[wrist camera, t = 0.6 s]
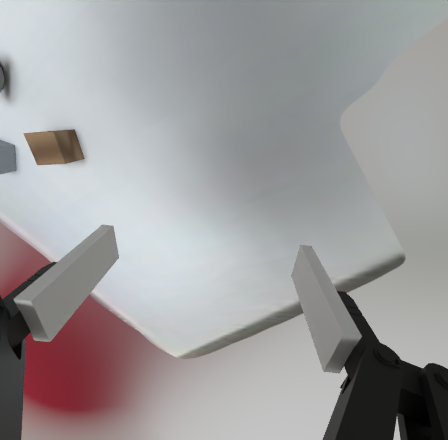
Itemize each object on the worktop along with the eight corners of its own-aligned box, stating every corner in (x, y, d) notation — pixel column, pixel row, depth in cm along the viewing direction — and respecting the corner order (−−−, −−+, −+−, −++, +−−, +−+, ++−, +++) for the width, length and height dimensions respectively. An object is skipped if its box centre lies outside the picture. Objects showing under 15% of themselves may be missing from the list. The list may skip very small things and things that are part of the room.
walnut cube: (48, 131, 38) (23, 133, 34) (74, 129, 38) (53, 131, 33) (59, 159, 40) (37, 165, 36) (84, 158, 40) (65, 163, 35)
